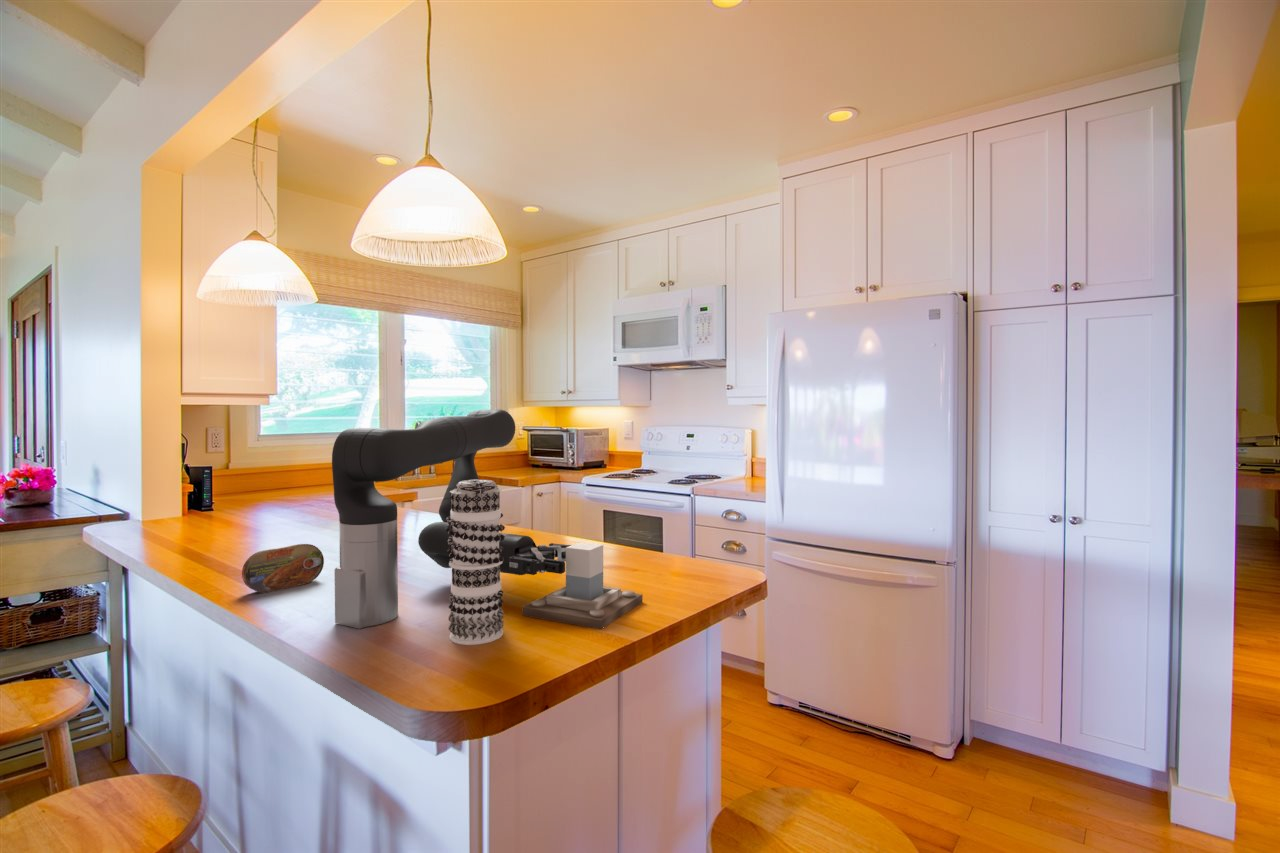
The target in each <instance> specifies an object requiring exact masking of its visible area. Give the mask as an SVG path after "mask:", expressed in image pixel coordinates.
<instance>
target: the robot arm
mask: <svg viewBox="0 0 1280 853" xmlns="http://www.w3.org/2000/svg"><path fill="white" fill-rule="evenodd" d="M515 434H516V423H515V420H514V418H513V416H512V415H511V414H510V413H509V412H508V411H506V410H503V409H501V408H499V409H495V408H493V409H480V410H479V409H478V410H473V411H470V412H469V413H468V414H467V415H465V416H464V415H455V416H454V415H453V416H440V417H434V418H429V419H426V420H424V421H422V422H420V423H419V424H417V426H416V427H415V428H409V429H407V428H406V429H398V428H397V429H395V428H394V429H393V428H385V427H384V428H382V427H381V428H379V427H378V428H377V427H376V428H375V427H374V428H373V427H372V428H371V427H356V428H354V427H353V428H347V429H344V430H343V431H341V432H340V433H339V434H338V436H337V437H336V439H335V440H334V443H333V447H332V452H331V471H332V483H333V484H332V485H333V486H332V487H333V500H334V505H335V507H336V510H337V512H338V517H339V518H338V520H339V521H338V522H339V523H338V524H339V566H336V567H335V568H334V624H336V625H337V624H338V625H340V626H341V625H342V626H345V627H350V628H356V629H363V628H365V627H371V626H377V625H383V624H386V623H388V622H391V621H392V620H395V619H396V618H398V616H399V579H398V578H399V572H398V570H399V569H398V568H399V564H398V563H399V562H398V559H399V557H398V554H399V553H398V550H399V549H398V547H399V546H398V545H399V544H398V542H399V541H398V540H399V539H398V536H399V535H398V506H397V504H396V502H394V501H393V500H391V499H390V498H388V497H386V496H384V495H383V494H382V493H381V492H379V491H378V490H377V489H376V486H375V482H379V483H382V482H388V481H393V480H395V479H398V478H400V477H402V476H404V475H407V474H408V473H411V472H412V471H415V470H417V469H419V468H422V467H427V466H434V465H438V464H442V463H446V462H449V461H453V460H454V465H453V469H452V473H451V477H450V479H449V483H448V485H447V488H446V490H445V493H444V495H443V499H442V501H441V502H440V505H439V508H438V514H439V517H440V519H441V521H436V522H435V521H434V522H433V523H430V524H428V525H426V526H425V527H423V529H422V530H421V531H420V532H419V536H418V541H417V542H418V546H419V549H420V550H421V551H422V552H423V553H424V554H425V555H426V556H428V557H429V559H431V560H432V561H433V562H434V563H436V564H437V565H438V566H439V567H442V568H445V569H452V568H451V567H450V566H449V562H450V561H449V560H450V559H452V557H450V556H449V554H448V553H447V551H448V550H449V549H448V548H449V547H450V546H449V545H448V544H447V541H448V538H449V537H451V536H452V535H449V534H448V532H447V531H446V528H447V526H448V525H449V524H448V523H447V522H446V519H447V516H450V511H451V509H452V504H451V494H452V493H451V492H450V491H452V490H454V489H455V487H456V485H457V484H458V483H459V482H460V481H465V480H480V478H479V475H478V471H477V469H476V465H475V457H476V455H477V453H478V452H479V451H481V450H484V449H492V448H493V449H495V448H504V447H506V446H507V445H509V444H510V443H511V442H512V441H513V439H514V437H515ZM452 529H453V528H452ZM499 534H502V535H504V536H505V538H504V540H502V541H500V540H499V547H500V546H501V547H503V548H504V551H503V552H502V553H499V556H502V557H503V558H504V559H503V562H502V564H500V573H503V574H509V575H514V576H515V575H516V576H524V575H530V576H535V575H537V573H540V574H544V573H552V574H559V575H562V574H564V573H566V547H569V546H571V545H572V544H562V543H553V542H551V543H549V544H548V545H547V544H538V545H537V544H536V543H535V541H534V539H533V538H532V537H530V536H529V535H524V534H523V535H521V534H514V533H505V532H504V533H503V532H499ZM555 558H556V559H555Z"/></svg>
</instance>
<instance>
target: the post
mask: <svg viewBox="0 0 1280 853" xmlns="http://www.w3.org/2000/svg"><path fill="white" fill-rule="evenodd" d="M570 545H571V546H569V547H566V562H565V586H566V597H571V598H578V599H584V600H590V601H592V600H594V599H596V598H598V597H600V596H601V595H603V586H604V544H599V543H591V542H582V541H580V542H577V543H574V544H570Z"/></svg>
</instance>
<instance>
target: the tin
mask: <svg viewBox="0 0 1280 853" xmlns="http://www.w3.org/2000/svg"><path fill="white" fill-rule="evenodd" d="M324 564H325V559H324V555H323V553H322V551H321V549H320V548H318V547H317V546H316V545H313V544H310V543H300V544H298V543H297V544H293V545H287V546H282V547H281V546H280V547H277V548H276V547H275V548H271V549H270V548H269V549H265V550H264V549H263V550H261V551H260V550H259V551H257V552H255V553H253V554H252V555H251V556H249V557H248V558H247V560H245V562H244V564H243V566H242V569H241V578H242V581H243V583H244V584H245V585H246V586H247V588H249V589H250V590H253V591H254V592H257V593H262V594H264V593H265V594H266V593H267V594H268V593H271V592H277V591H280V590H285V589H289V588H294V587H298V586H304V585H307V584H309V583H311V582H313V581H314V580H316V579H317V578H318V577H319V576H320V574H322V571H323V569H324Z"/></svg>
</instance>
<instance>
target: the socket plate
mask: <svg viewBox="0 0 1280 853" xmlns="http://www.w3.org/2000/svg"><path fill="white" fill-rule="evenodd" d="M642 603H643V593H635V591H634V590H624V591H622V588H620V587H611V586H605V585H603V595H601V596H600V597H598V598H596V599H594V600H592V601H590V600H584V599H578V598H571V597H566V585H565V586H563V587H561V588H559V589H558V590H555V591H553V592H550V593H549V594H547V595H544V596H542V597H540V598H538V599H535V600H532V601H531V603H528V604H526V605H524V606H522V616H524V617H525V616H526V617H530V618H537V619H542V620H548V621H553V622H559V623H564V624H571V625H576V626H580V627H581V626H582V627H585V628H591V627H594V628H593V629H597V628H598V629H597V630H602V628H603V627H604V628H606V627H607V626H609V625H610V624H612V623H614V622H615V621H616V620H618V619H619V618H621V617H622V616H623V615H626V614H627V613H628V612H630V611H631V610H633V609H634V608H636V607H637V606H639V605H640V604H642ZM611 622H612V623H611ZM608 624H609V625H608ZM605 626H606V627H605ZM604 628H603V629H604Z"/></svg>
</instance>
